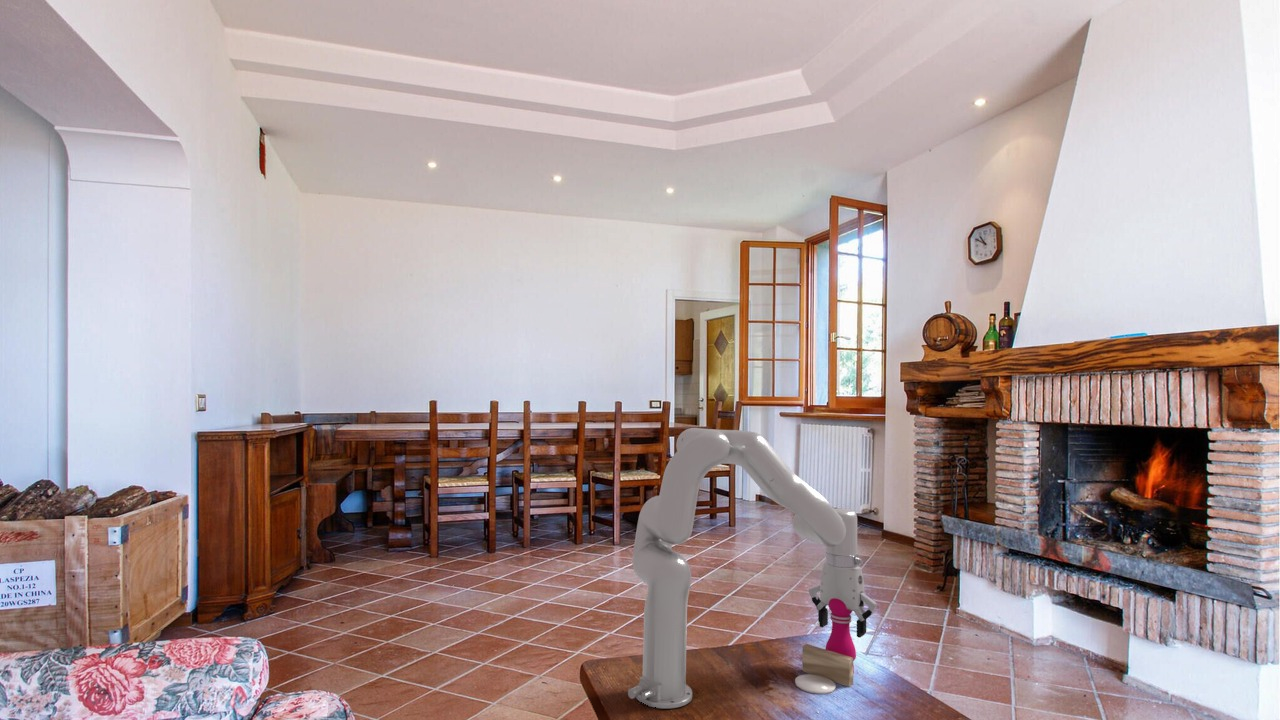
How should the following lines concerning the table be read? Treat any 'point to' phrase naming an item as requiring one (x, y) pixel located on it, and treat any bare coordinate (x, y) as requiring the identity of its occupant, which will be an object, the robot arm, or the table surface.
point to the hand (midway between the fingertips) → (841, 630)
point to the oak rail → (827, 664)
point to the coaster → (815, 684)
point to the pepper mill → (840, 630)
